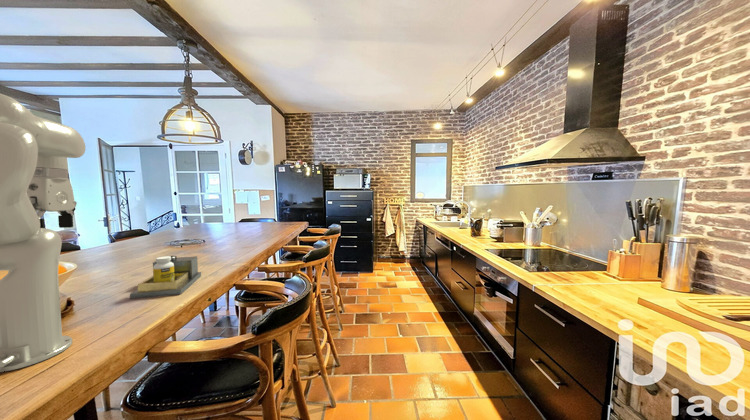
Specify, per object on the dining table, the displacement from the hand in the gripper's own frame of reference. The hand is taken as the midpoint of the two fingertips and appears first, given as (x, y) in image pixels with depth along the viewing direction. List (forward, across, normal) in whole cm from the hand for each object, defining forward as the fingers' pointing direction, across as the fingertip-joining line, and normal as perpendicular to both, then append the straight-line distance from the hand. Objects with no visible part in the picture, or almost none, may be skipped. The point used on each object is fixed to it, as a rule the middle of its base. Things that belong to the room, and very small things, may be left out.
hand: (52, 229), depth 75 cm
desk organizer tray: (+28, +21, -21) cm, 41 cm away
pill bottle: (+26, +17, -21) cm, 38 cm away
